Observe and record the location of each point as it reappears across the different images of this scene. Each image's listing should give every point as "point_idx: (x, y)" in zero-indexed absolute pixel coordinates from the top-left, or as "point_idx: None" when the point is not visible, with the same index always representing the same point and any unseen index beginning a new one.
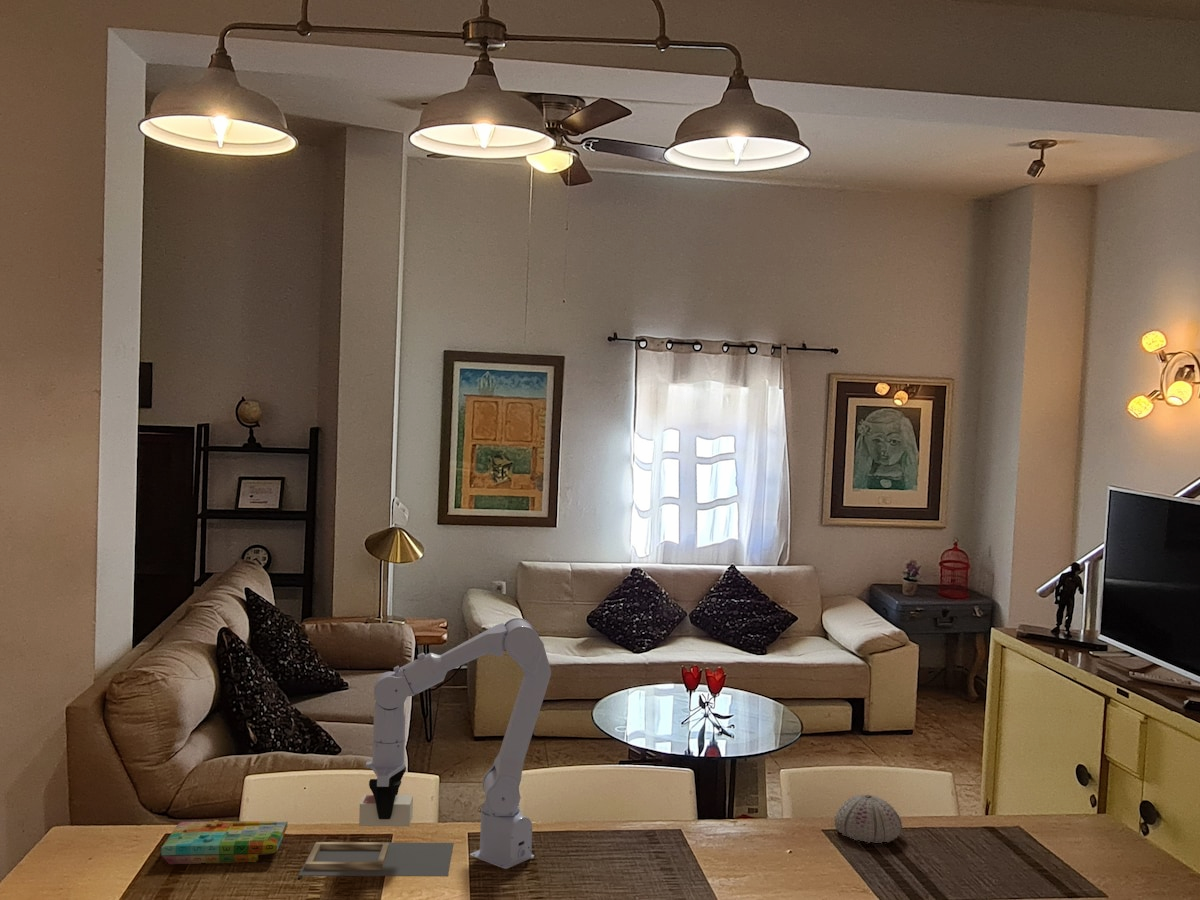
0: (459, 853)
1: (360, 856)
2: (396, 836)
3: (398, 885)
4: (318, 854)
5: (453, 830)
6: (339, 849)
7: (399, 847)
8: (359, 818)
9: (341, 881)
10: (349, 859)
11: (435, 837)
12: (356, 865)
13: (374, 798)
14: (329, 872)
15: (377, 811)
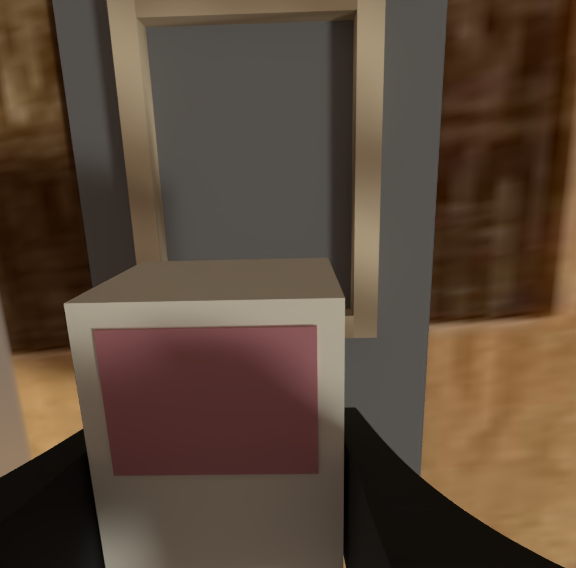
0: (343, 558)
1: (277, 228)
2: (519, 333)
3: (59, 400)
4: (292, 24)
5: (561, 527)
6: (353, 116)
7: (373, 368)
8: (121, 273)
9: (58, 190)
10: (242, 186)
11: (496, 474)
12: (136, 237)
13: (225, 415)
14: (101, 125)
15: (73, 435)
